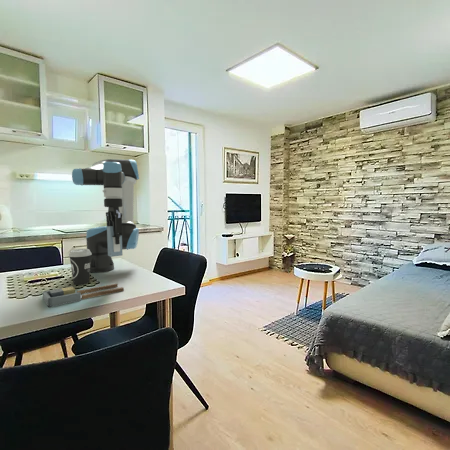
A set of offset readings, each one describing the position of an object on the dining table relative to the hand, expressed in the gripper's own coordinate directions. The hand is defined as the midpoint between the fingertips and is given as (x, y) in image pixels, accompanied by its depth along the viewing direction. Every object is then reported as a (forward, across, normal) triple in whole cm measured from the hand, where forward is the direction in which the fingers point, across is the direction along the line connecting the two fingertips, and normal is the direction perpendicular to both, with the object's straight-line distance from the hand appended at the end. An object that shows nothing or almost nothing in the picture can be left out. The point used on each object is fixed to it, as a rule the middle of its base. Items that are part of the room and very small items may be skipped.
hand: (114, 250), depth 130 cm
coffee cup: (+15, -13, -11) cm, 23 cm away
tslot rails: (+15, +7, -9) cm, 19 cm away
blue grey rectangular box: (+2, 0, 0) cm, 2 cm away
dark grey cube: (+15, +7, -25) cm, 30 cm away
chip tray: (+15, +7, -23) cm, 29 cm away
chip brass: (+15, +7, -21) cm, 27 cm away
